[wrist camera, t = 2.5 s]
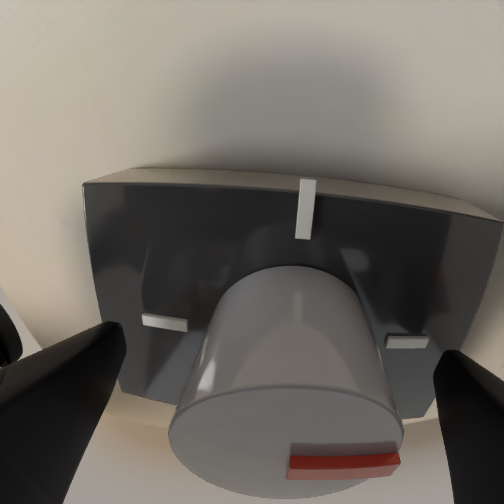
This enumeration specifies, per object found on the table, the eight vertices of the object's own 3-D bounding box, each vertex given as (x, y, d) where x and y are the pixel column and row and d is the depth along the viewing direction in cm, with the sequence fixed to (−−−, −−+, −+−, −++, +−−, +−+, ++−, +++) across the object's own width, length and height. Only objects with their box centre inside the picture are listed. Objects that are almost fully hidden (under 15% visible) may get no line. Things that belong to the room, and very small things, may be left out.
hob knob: (213, 381, 9) (179, 495, 5) (210, 256, 8) (140, 377, 4) (347, 392, 9) (362, 507, 5) (383, 272, 7) (451, 396, 3)
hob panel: (148, 352, 13) (121, 399, 10) (129, 159, 10) (76, 173, 7) (403, 374, 12) (421, 425, 9) (460, 190, 9) (511, 213, 6)
